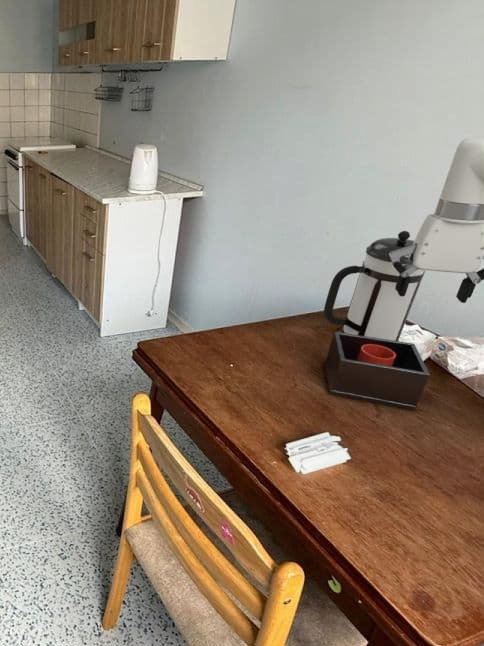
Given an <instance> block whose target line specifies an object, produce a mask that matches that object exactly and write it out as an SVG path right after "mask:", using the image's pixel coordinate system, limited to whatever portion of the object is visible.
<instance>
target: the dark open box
mask: <svg viewBox="0 0 484 646" xmlns="http://www.w3.org/2000/svg"><path fill="white" fill-rule="evenodd" d="M366 344H374V345H380V346H383V347H386V348H388V349H391V350H392V351H393V352H395V354H396V358H395V360H394V363H393V365H392V367H390V366H384V365H378V364H372V363H367V362H361V361H356V360H357V357H358V354H359V352H360V349H361V347H362V346H363V345H366ZM329 345H330V346H329V349H328V353H327V355H326V358H325V361H324V366H325V373H326V378H327V384H328V385H327V386H328V390H329V391H328V392H329V394H330V395H334V396H340V397H345V398H349V399H355V400H359V401H366V402H370V403H376V404H380V405H385V406H390V407H396V408H400V409H407V410H411V411H415V410H416V407H417V406H418V403H419V401H420V399H421V396H422V394H423V391H424V389H425V387H426V386H427V385H426V384H427V382H428V380H429V378H430V376H431V374H430V372H429V370H428V368H427V366H426V364H425V362H424V360H423V358H422V356H421V354H420V352H419V350H418V349H417V346H416V344H415V343H412V342H407V341H400V340H399V341H393V340H386V339H380V338H373V337H366V336H360V335H353V334H347V333H345V332H343V333H340V332H337V331H334V333H333V336H332V339H331V343H330V344H329Z"/></svg>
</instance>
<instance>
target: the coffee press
mask: <svg viewBox="0 0 484 646" xmlns="http://www.w3.org/2000/svg"><path fill="white" fill-rule="evenodd" d="M410 237H411V234H410V232H409V231H408V230H402V231H400V232H399V233H398V234H397V237H384V238H379V239H376V240H374V241H372V242H371V243H370V245H368V246H366V249H365V254H366V255H365V258H364V261H362V265H361V266H360V265H359V266H358V265H349V266H346V267H344V268H342V269H340V270H339V271H338V272H337V273H336V274H335V275H334V277H333V278H332V281H331V283H330V287H329V290H328V294H327V297H326V299H325V303H324V308H323V315H324V318H325V319H326V320H327V321H328V322H329V323H331V324H334V325H339V327H337V329H336V332H340V333H347V334H353V335H360V336H366V337H373V338H380V339H386V340H393V341H400V338H401V335H402V333H403V330H404V327H405V324H406V322H407V319H408V317H409V314H410V312H411V309H412V307H413V305H414V304H413V303H414V302H415V299H416V296H417V295H418V294H417V293H418V291H419V288H420V285H421V282H422V281H423V278H424V275H425V273H426V270H421V269H419V270H417V271H415V272H414V273H412V274H411V275H409V277H410V282H409V285H408V288H407V291H406V294H405V296H400V295H399V294H398V292H397V290H396V289H395V287H396V283H397V280H398V277H399V272H398V271H397V270H396V269H395V268H394V266H393V265H392V261H391V258H390V255H389V253H390V252H391V251H394V250H398V249H401V248H404V247H408V246H411V245H413V243H414V241H415V240H412V239H409V238H410ZM408 257H409V254H408V255H405V256H402V257H400V263H401V264H402V265H405V264H407V263H408V262H410V261H409V259H408ZM354 274H359V275H358V278H357V282H356V285H355V287H354V291H353V294H352V297H351V300H350V303H349V307H348V310H347V313H346V315H345V317H337V316H334V313H333V311H334V308H335V304H336V300H337V298H338V297H337V296H338V293H339V290H340V287H341V284H342V283H343V281H344V279H345V278H346V277H347V276H350V275H354ZM341 328H343V330H341Z"/></svg>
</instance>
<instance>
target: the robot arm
mask: <svg viewBox="0 0 484 646" xmlns="http://www.w3.org/2000/svg"><path fill="white" fill-rule="evenodd" d="M413 241H414V243H413V245H411V246H408V247H404V248H401V249H398V250H394V251H391V252H390V253H389V255H390V258H391V261H392V265H393V266H394V268H395V269H396V270H397V271H398V272H399V277H398V280H397V283H396V287H395V289H396V290H397V292H398V294H399V295H400V296H405V294H406V291H407V288H408V285H409V282H410V277H409V275H411V274H412V273H414V272H415V271H417V270H419V269H421V270H424V271H432V272H444V273H454V274H455V273H456V274H465V275H466V277H464V278H463V279H462V280H461V282H460V286H459V288H458V291H457V293H456V296H455V297H456V299H457V300H458V301H459V302H460V303H461V304H466V303H467V301H468V299H470V298H471V297H472V296H473V293H474V292H475V291H474V290H475V288H476V286H477V285H478V284H480V283H481V282H482V281H484V267H483V268H481V269H479V268H480V266H481V264H482V261H483V260H484V136H473V137H467V138H464V139H463V140H462V141H460V143H458V145H457V147H456V149H455V152H454V155H453V158H452V161H451V164H450V167H449V170H448V173H447V176H446V178H445V181H444V185H443V187H442V189H441V192H440V196H439V198H438V202H437V204H436V207H435V210H434V213H429V214H427V216H426V217H425V219H424V221H423V223H422V224H421V226H420V228H419V230H418V232H417V234H416V236H415V239H414V240H413ZM408 254H409V257H408V259H409V261H410V262H408V263H407V264H405V265H402V264H401V263H400V257H402V256H405V255H408ZM478 269H479V270H478Z"/></svg>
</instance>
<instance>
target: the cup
mask: <svg viewBox="0 0 484 646" xmlns="http://www.w3.org/2000/svg"><path fill="white" fill-rule="evenodd" d="M395 358H396V354H395V352H393V351H392V350H391V349H388V348H386V347H383V346H380V345H374V344H366V345H363V346H362V347H361V349H360V352H359V354H358V357H357V360H356V361H361V362H367V363H372V364H378V365H384V366H390V367H392V365H393V363H394V360H395Z"/></svg>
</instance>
